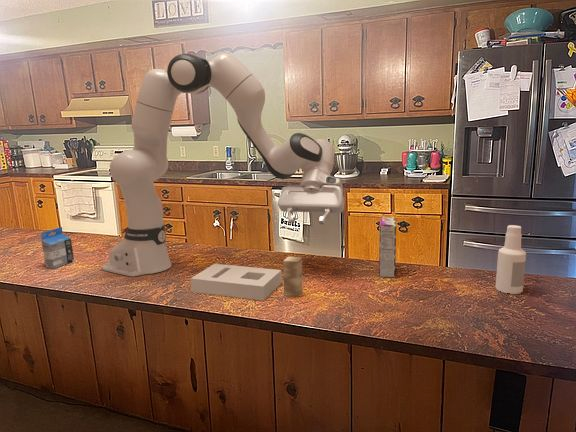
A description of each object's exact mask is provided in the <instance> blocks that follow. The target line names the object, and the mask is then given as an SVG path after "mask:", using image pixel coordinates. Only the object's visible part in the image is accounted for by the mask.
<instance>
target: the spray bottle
mask: <svg viewBox="0 0 576 432" xmlns="http://www.w3.org/2000/svg"><path fill="white" fill-rule="evenodd" d="M522 237H523V235H522V226H521V225H516V224H509V225H507V227H506V233H505V237H504V239H505V241H504V245H503V247H500V248H499V249H498V251H497V261H496V262H497V264H496V276H495V286H494V287H495V289H496V290H497V291H498V292H500V291H501V292H500V293H503V294H507V293H510V294H509V295H519V294H521V292H522V293H523V290H524V282H525V271H526V270H525V269H526V258H527V252H526V251H525V250H524V249H523V248H522Z"/></svg>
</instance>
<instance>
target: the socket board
mask: <svg viewBox="0 0 576 432" xmlns="http://www.w3.org/2000/svg"><path fill="white" fill-rule="evenodd" d="M282 283H283V281H282V269H272V268H263V267H251V266H243V265H242V266H241V265H232V264H231V265H230V264H221V263H213V264H212V265H210V266H208V267H207V268H205V269H204V270H202V271H200V272H199V273H197V274H195V275H194V276H192V277H190V290H191V291H190V292H191V293H199V294H206V295H212V296H221V297H222V296H223V297H230V298H231V297H232V298H238V299H247V300H248V299H249V300H256V301H261V302H263V301H265V300H266V299H267V298H268V297H270V295H271V294H272V293H273V292H274V291H275V290H276V289H277V288H279V287H280V286H281V284H282Z"/></svg>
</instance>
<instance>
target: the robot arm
mask: <svg viewBox="0 0 576 432" xmlns="http://www.w3.org/2000/svg"><path fill="white" fill-rule="evenodd" d="M209 87H211V88H214V89H215V90H217V91H218V92H219V93H220V95H222V96H223V98H224V99H225V100H226V101H227V102H228V104H229V105H230V106H231V108H232V109H233V111H234V113H235V115H236V119H237V123H238V125H239V127H240V129H241V130H242V131H243V133H244V135H245V136H246V138H248V140H249V141H250V143H251V144H252V146H253V147H254V149H255V150H256V151H257V153H258V154H259V155H260V156H261V158H262V160H263V161H264V163H265V165H266V167H267V170H268V171H269V173H270V174H271V175H272V176H273V177H275V178H277V179H280V180H288V179H290V178H291V177H292V176H293V175H294V174H295V173H296V172H297V171H299V170H302V172H303V173H302V176H301V180H300V183H299V184H287V185H285V186H283V187H282V188H281V191H280V195H279V198H278V200H277V207H278V208H279V210H280V211H281V212H287V213H288V223H289V224H295V223H296V217H295V215H294V212H295V213H318V214H319V213H320V214H322V213H324V214H323V215H322V216H319V220H318V221H319V222H318V223H319V225H326V221H327V220H328V219H329V218H330V217H331V214H342V213H343V212H344V209H345V197H344V187H343V183H342V181H341V179H340V178H338V177H336V176H332V175H331V173H332V172H333V169H334V164H335V149H334V146H333V144H332V143H331V142H330V141H328V140H326V139H324V138H317V139H314V138H312V137H310V136H309V135H307V134H305V133H301V132H296V133H293V134H292V135H291V136H289V137H288V138H287V139H286V140H284V142H283V143H282V144H281V145H279V146H278V145H276V143H275V142H274V141H273V139H272V138H271V136H270V135H269V133H268V132H267V130H265V128H264V127H263V123H262V114H263V111H264V110H263V109H264V106H265V102H266V93H265V89H264V87H263V85H262V83H261V82H260V81H259V79H258V78H257V77H256V76H255V75H254V74H253V73H252V72H251V71H250V70H249V69H248V68H247V67H246V66H245V64H243V63H242V61H240V60H238V58H236V57H234V56H233V55H232V54H230V53H227V52H222V53H219V54H218V55H216V56H214V57H213V58H212V59H211V60H209V61H208V60H207V59H205V58H202V57H200V56H198V55H194V54H190V53H179V54H177V55H176V56H174V57H173V58H172V59H170V61H169V63H168V65H167V69H162V68H153V69H150V70H148V71H147V72H146V73H145V76H144V78H143V79H142V81H141V85H140V88H139V91H138V94H137V99H136V102H135V107H134V112H133V116H132V118H131V119H132V121H131V124H130V125H131V130H132V132H133V148H132V149H129V150H128V149H127V150H125V151H122V152H121V153H119V154H117V155H115V156H114V157H113V158H112V159H111V161H110V164H109V173H110V176H111V178H112V179H113V181H115V183H116V184H117V185H118V187H119V189H120V192H121V195H122V197H123V199H124V200H123V201H124V204H125V209H126V218H127V227H126V228H124V229H123V228H122V229H120V231H121V234H124V238H123V239H122V240H121V241H119V242H118V243H117V244H116V245H114V247H112V248H111V249H110V251H109V254H108V255H109V256H108V262H106V263H104V264H103V265H102V267H101V270H102V271H104V272H109V273H115V274H118V275H123V276H126V277H127V276H128V277H137V276H142V275H148V274H149V275H151V274H157V273H161V272H163V271H164V272H165V271H166V270H168V269H170V268H171V267H172V262H171V260H170V256H169V253H168V249H167V242H166V239H167V238H166V237H167V235H166V234H167V233H166V225H165V223H164V216H163V215H164V214H163V213H164V212H163V211H164V210H163V202H162V200H161V198H160V197H159V195H158V193H157V191H156V187H155V183H154V181H157V180H160V179H161V177H163V176H164V175H165V174H166V172H167V171H168V169H169V159H168V156H167V154H168V151H167V150H168V137H169V136H168V135H169V131H170V127H171V126H170V125H171V122H172V117H173V113H174V110H175V107H176V106H175V105H176V101H177V99H178V97H179V96H180V95H181V94H182V93H183V94H190V95H193V94H200V93H203V92H205V91H206V90H208V89H209Z"/></svg>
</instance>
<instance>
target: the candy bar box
mask: <svg viewBox="0 0 576 432" xmlns="http://www.w3.org/2000/svg"><path fill="white" fill-rule="evenodd" d="M378 236H379V241H378V244H379V245H378V263H379V264H378V268H379V269H378V273H379V278H392V277H394V278H396V261H397V260H396V257H397V256H396V255H397V253H396V252H397V244H396V243H397V220H396V217H392V216H390V217H389V216H387V217H384V216H382V217H379V234H378Z"/></svg>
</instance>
